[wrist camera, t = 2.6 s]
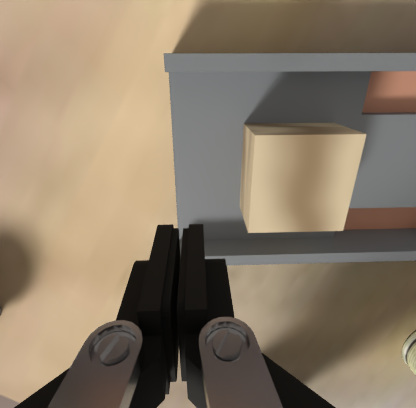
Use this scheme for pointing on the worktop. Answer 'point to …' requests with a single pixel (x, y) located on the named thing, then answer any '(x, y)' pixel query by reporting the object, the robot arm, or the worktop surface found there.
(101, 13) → the worktop surface
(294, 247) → the box
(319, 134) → the maple block
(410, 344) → the coffee can
